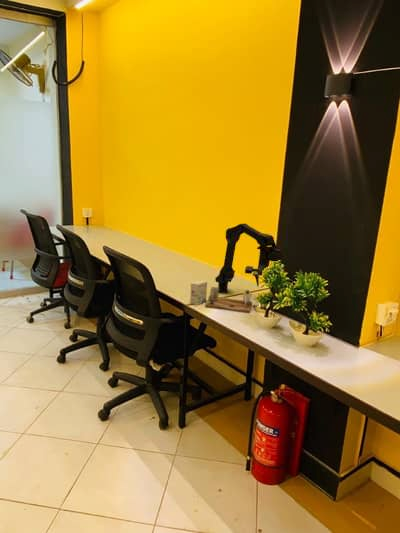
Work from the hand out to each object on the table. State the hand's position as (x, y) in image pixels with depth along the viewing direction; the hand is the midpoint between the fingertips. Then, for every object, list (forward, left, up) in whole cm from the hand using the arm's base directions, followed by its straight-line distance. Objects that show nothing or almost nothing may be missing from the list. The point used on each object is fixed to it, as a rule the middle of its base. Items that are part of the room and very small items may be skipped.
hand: (261, 286), depth 212 cm
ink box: (+5, -33, -12) cm, 36 cm away
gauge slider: (+3, -7, -10) cm, 13 cm away
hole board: (+4, -16, -12) cm, 20 cm away
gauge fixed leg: (+3, -25, -10) cm, 27 cm away
